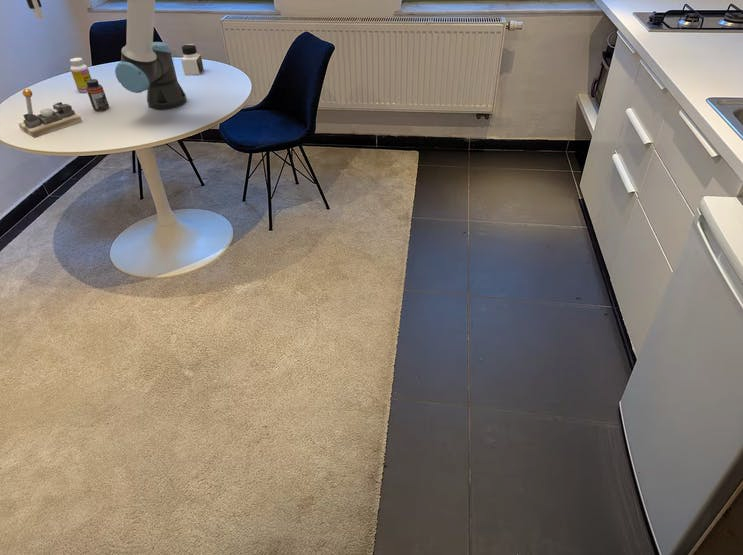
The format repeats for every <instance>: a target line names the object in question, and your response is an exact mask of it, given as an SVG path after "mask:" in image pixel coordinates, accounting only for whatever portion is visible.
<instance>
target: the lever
mask: <svg viewBox="0 0 743 555" xmlns="http://www.w3.org/2000/svg"><path fill="white" fill-rule="evenodd" d="M22 95H23V97H25V101H26V102H25V103H26V111H27V114H28V116H30V115H33V114H34V112H33V106H32V98H31V97H33V91H32V90H31V89H28V88H25V89H23V90H22Z"/></svg>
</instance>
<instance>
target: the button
mask: <svg viewBox="0 0 743 555" xmlns="http://www.w3.org/2000/svg"><path fill="white" fill-rule="evenodd" d="M52 110H53V108H43V109H41V110H40V111H39V112H40V113H39V114H41V115H42V117H43V118H47V117H50V116H54V114H53V111H54V110H53V111H52Z"/></svg>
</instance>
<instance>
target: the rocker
mask: <svg viewBox="0 0 743 555" xmlns="http://www.w3.org/2000/svg"><path fill="white" fill-rule="evenodd" d="M67 105H68V106H69V109H70V110H73V107H72V106H71V105H70V104H68V103H62V104H58V105H55V104H53V105H52V110H54V111H55V110H56V111H63V110H62V108H61V107H64V106H67Z"/></svg>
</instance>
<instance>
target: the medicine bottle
mask: <svg viewBox="0 0 743 555" xmlns="http://www.w3.org/2000/svg"><path fill="white" fill-rule="evenodd" d="M181 51H182V55H183V57H181V58H180V61H181V65H182V69H183V72H184V73H183V74H184V76H200V75H201V74H202V73H203V71H204V70H205V69H204V63H203V59H202V55H201V54H200V53H198V52H197V47H196V45H195V44H192V43H188V44H183V45H182V46H181Z"/></svg>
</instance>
